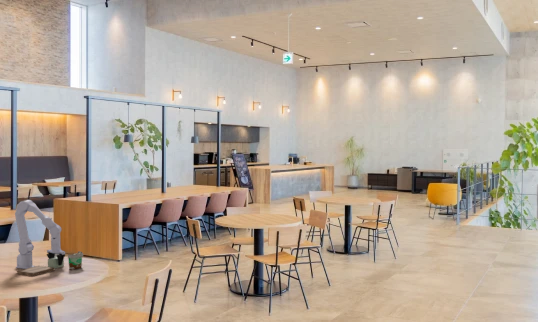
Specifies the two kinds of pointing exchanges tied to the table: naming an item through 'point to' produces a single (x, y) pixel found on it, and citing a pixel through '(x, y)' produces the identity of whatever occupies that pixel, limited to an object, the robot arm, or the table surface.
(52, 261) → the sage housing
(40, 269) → the walnut stand
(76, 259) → the food container
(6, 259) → the table surface
